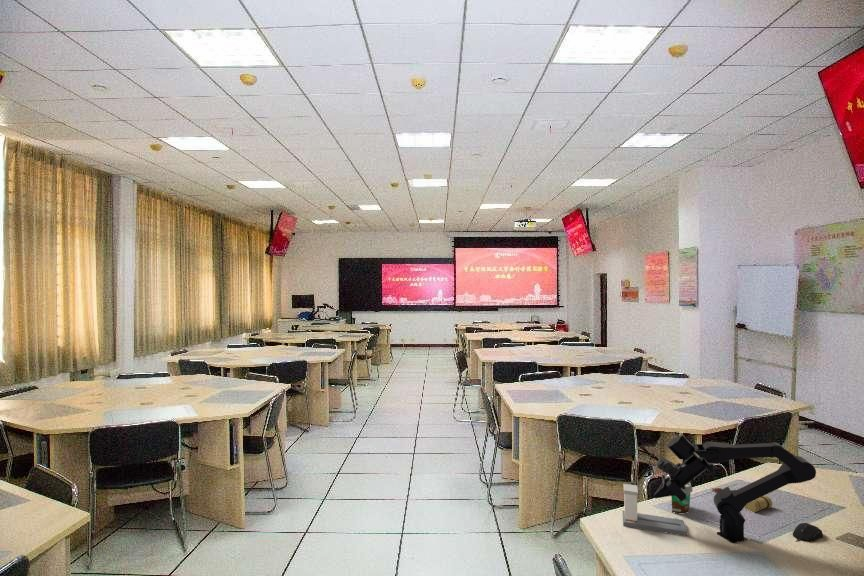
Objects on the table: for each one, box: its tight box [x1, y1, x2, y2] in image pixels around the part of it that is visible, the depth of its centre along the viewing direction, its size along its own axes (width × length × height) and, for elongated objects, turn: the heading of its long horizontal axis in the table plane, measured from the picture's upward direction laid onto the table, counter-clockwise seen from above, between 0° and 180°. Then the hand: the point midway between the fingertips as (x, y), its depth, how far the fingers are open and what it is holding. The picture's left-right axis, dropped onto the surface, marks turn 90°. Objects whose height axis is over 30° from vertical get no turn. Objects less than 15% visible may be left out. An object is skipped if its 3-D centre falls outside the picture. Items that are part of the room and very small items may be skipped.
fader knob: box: [623, 483, 639, 521], centre depth 170 cm, size 5×6×10 cm
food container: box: [671, 482, 693, 514], centre depth 179 cm, size 12×6×10 cm, turn 143°
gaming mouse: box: [792, 522, 824, 543], centre depth 159 cm, size 6×15×4 cm, turn 120°
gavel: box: [711, 487, 773, 513], centre depth 187 cm, size 21×5×10 cm
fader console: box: [622, 510, 688, 537], centre depth 167 cm, size 20×9×2 cm, turn 69°
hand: (654, 496), depth 167 cm, fingers closed
